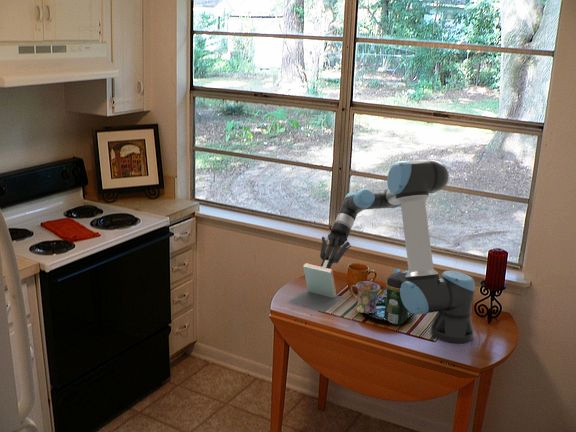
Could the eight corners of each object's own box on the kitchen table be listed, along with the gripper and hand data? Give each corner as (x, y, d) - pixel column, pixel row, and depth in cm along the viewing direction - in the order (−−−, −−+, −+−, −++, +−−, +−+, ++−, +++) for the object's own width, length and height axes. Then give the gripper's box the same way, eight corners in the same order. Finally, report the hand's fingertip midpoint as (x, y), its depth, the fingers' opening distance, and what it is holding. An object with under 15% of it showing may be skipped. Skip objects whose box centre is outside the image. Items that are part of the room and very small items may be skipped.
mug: (382, 310, 256) (384, 285, 253) (371, 318, 249) (373, 292, 246) (354, 302, 262) (356, 277, 259) (343, 309, 255) (345, 284, 252)
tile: (310, 288, 270) (305, 263, 262) (336, 294, 265) (332, 269, 256) (307, 291, 269) (303, 266, 261) (334, 298, 263) (330, 272, 255)
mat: (309, 290, 272) (309, 288, 272) (343, 299, 265) (344, 297, 265) (287, 304, 257) (287, 302, 257) (324, 314, 250) (324, 312, 250)
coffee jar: (390, 313, 254) (395, 268, 249) (409, 318, 250) (414, 273, 245) (379, 321, 246) (384, 275, 241) (399, 327, 242) (404, 280, 237)
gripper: (358, 234, 274) (338, 283, 265) (330, 228, 280) (310, 276, 271) (354, 224, 268) (334, 274, 259) (326, 219, 274) (305, 267, 265)
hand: (322, 275), depth 265 cm, fingers closed
